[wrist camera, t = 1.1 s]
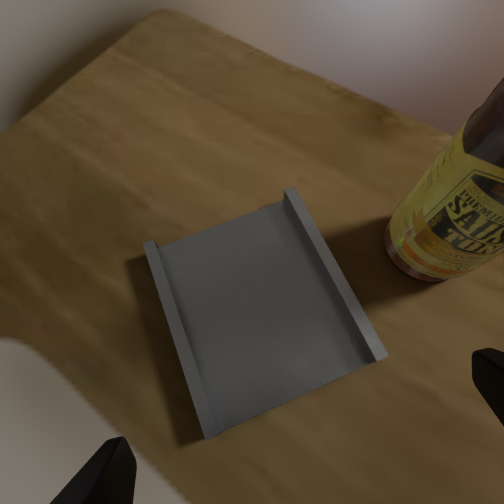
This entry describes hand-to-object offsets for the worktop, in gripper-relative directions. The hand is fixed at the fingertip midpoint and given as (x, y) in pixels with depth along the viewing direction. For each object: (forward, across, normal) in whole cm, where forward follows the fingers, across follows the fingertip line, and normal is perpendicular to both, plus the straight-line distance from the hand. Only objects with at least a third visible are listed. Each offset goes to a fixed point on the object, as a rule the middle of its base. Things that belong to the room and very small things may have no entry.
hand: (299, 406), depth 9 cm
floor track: (+14, +1, +4) cm, 15 cm away
